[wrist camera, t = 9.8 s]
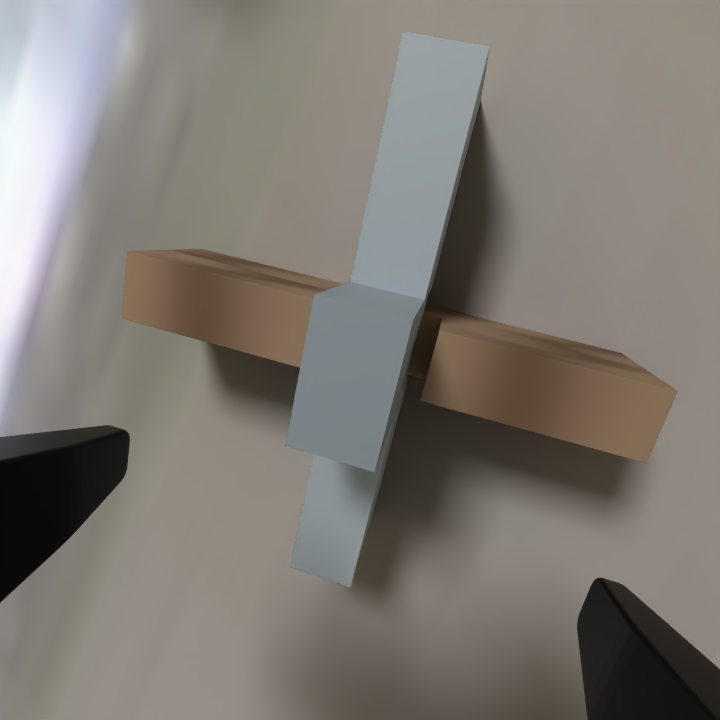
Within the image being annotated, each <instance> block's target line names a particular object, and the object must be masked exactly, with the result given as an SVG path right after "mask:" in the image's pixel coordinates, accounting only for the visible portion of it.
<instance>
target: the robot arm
mask: <svg viewBox="0 0 720 720" xmlns="http://www.w3.org/2000/svg"><path fill="white" fill-rule="evenodd" d="M129 444H130V436H129V433H128V432H127V431H126V430H123V429H120V428H117V427H114V426H109V425H105V426H96V427H87V428H78V429H69V430H60V431H51V432H42V433H33V434H24V435H15V436H6V437H0V602H1V601H3V600H4V599H5V598H6V597H7V596H8V595H9V594H10V593H11V592H12V591H13V590H14V589H16V588H17V587H18V586H19V585H20V584H21V583H22V582H23V581H24V580H25V579H26V578H27V577H29V576H30V575H31V574H32V573H33V572H34V571H35V570H36V569H37V568H38V567H39V566H40V565H42V564H43V563H44V562H45V561H46V560H47V559H48V558H49V557H50V556H51V555H52V554H54V553H55V552H56V551H57V550H58V549H59V548H60V547H61V546H62V545H63V544H64V543H65V542H66V541H67V540H68V539H69V538H70V537H71V536H72V535H73V534H74V533H75V532H76V531H77V530H78V529H79V527H80V526H81V525H82V524H83V523H84V522H85V521H86V520H87V519H88V517H89V516H90V515H91V514H92V513H93V512H94V511H95V510H96V509H97V507H98V506H99V505H100V504H101V503H102V502H103V501H104V500H105V499H106V497H107V496H108V495H109V494H110V493H111V492H112V491H113V490H114V489H115V487H116V486H117V485H118V484H119V483H120V482H121V481H122V479H123V478H124V476H125V474H126V470H127V464H128V454H129ZM577 631H578V640H579V649H580V658H581V667H582V675H583V684H584V693H585V702H586V710H587V717H588V720H720V669H719V668H718V667H717V666H716V665H714V664H713V663H712V662H711V661H710V660H709V659H708V658H706V657H705V656H704V655H703V654H702V653H701V652H700V651H698V650H697V649H696V648H695V647H694V646H693V645H692V644H690V643H689V642H688V641H687V640H686V639H685V638H684V637H682V636H681V635H680V634H679V633H678V632H677V631H676V630H674V629H673V628H672V627H671V626H670V625H669V624H668V623H666V622H665V621H664V620H663V619H662V618H661V617H660V616H658V615H657V614H656V613H655V612H654V611H653V610H652V609H650V608H649V607H648V606H647V605H646V604H645V603H644V602H642V601H641V600H640V599H639V598H638V597H637V596H636V595H634V594H633V593H632V592H631V591H630V590H629V589H628V588H626V587H625V586H624V585H622V584H620V583H617V582H614V581H611V580H608V579H604V578H597V579H595V580H594V582H593V583H592V585H591V587H590V590H589V592H588V594H587V597H586V599H585V602H584V604H583V606H582V609H581V611H580V614H579V617H578V622H577Z"/></svg>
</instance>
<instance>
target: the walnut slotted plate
mask: <svg viewBox="0 0 720 720" xmlns="http://www.w3.org/2000/svg"><path fill="white" fill-rule="evenodd" d="M340 285H342V284H340V283H336V282H332V281H328V280H324V279H320V278H316V277H312V276H308V275H304V274H300V273H296V272H292V271H288V270H284V269H280V268H276V267H272V266H267V265H263V264H259V263H255V262H251V261H247V260H243V259H239V258H235V257H231V256H227V255H223V254H219V253H215V252H211V251H207V250H203V249H188V250H146V251H127V258H126V270H125V282H124V295H123V307H122V319H125V320H129V321H132V322H136V323H140V324H143V325H147V326H151V327H154V328H158V329H161V330H165V331H169V332H172V333H176V334H180V335H183V336H187V337H191V338H194V339H198V340H201V341H205V342H209V343H212V344H216V345H220V346H223V347H227V348H230V349H234V350H238V351H241V352H245V353H249V354H252V355H256V356H259V357H263V358H267V359H270V360H274V361H278V362H281V363H285V364H289V365H292V366H296V367H299V368H300V366H301V361H302V356H303V350H304V345H305V340H306V335H307V330H308V324H309V319H310V314H311V309H312V304H313V298H314V295H315V294H318V293H320V292H323V291H326V290H329V289H331V288H334V287H337V286H340ZM408 375H409V376H413V377H417V378H420V379H424V380H425V383H424V387H423V392H422V396H421V400H420V401H423V402H426V403H430V404H434V405H437V406H441V407H445V408H448V409H452V410H455V411H459V412H463V413H466V414H470V415H474V416H477V417H481V418H484V419H488V420H492V421H495V422H499V423H503V424H506V425H510V426H514V427H517V428H521V429H524V430H528V431H532V432H535V433H539V434H543V435H546V436H550V437H553V438H557V439H561V440H564V441H568V442H572V443H575V444H579V445H582V446H586V447H590V448H593V449H597V450H601V451H604V452H608V453H612V454H615V455H619V456H622V457H626V458H630V459H633V460H637V461H641V462H644V463H647V461H648V459H649V456H650V454H651V452H652V449H653V447H654V445H655V442H656V440H657V438H658V435H659V433H660V431H661V429H662V426H663V424H664V422H665V419H666V417H667V415H668V412H669V410H670V408H671V405H672V403H673V401H674V398H675V396H676V394H677V390H676V389H674V388H673V387H671V386H670V385H668V384H667V383H665V382H664V381H662V380H661V379H659V378H658V377H656V376H655V375H653V374H652V373H650V372H649V371H647V370H646V369H644V368H643V367H641V366H640V365H638V364H637V363H635V362H634V361H632V360H631V359H629V358H628V357H626V356H625V355H623V354H622V353H618V352H614V351H610V350H606V349H602V348H598V347H594V346H590V345H586V344H582V343H578V342H574V341H570V340H566V339H562V338H558V337H554V336H550V335H546V334H542V333H538V332H534V331H530V330H526V329H522V328H517V327H513V326H509V325H505V324H501V323H497V322H493V321H489V320H485V319H481V318H477V317H473V316H469V315H465V314H461V313H457V312H453V311H449V310H445V309H441V308H437V307H433V306H429V305H426V306H425V309H424V313H423V317H422V321H421V325H420V329H419V333H418V336H417V340H416V344H415V348H414V352H413V356H412V360H411V363H410V367H409V371H408Z"/></svg>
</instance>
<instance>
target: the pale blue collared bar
mask: <svg viewBox="0 0 720 720" xmlns="http://www.w3.org/2000/svg"><path fill="white" fill-rule="evenodd" d="M489 48H490V46H484V45H478V44H472V43H467V42H461V41H455V40H449V39H443V38H437V37H431V36H426V35H420V34H414V33H408V32H403V35H402V40H401V44H400V49H399V54H398V59H397V63H396V68H395V73H394V77H393V82H392V87H391V92H390V96H389V101H388V106H387V111H386V115H385V120H384V125H383V130H382V134H381V139H380V144H379V148H378V153H377V158H376V163H375V167H374V172H373V177H372V182H371V186H370V191H369V196H368V200H367V205H366V210H365V215H364V219H363V224H362V229H361V234H360V238H359V243H358V248H357V252H356V257H355V262H354V267H353V271H352V276H351V281H350V282H348V283H345V284H342V285H340V286H337V287H334V288H331V289H329V290H326V291H323V292H320V293H318V294H315V295H314V298H313V304H312V309H311V314H310V319H309V324H308V330H307V335H306V340H305V345H304V350H303V356H302V361H301V366H300V371H299V376H298V382H297V387H296V392H295V397H294V403H293V408H292V413H291V418H290V423H289V429H288V434H287V439H286V444H285V446H288V447H291V448H295V449H298V450H301V451H305V452H308V453H311V454H314V456H313V460H312V465H311V470H310V475H309V479H308V484H307V489H306V494H305V498H304V503H303V508H302V512H301V517H300V522H299V527H298V531H297V536H296V541H295V546H294V550H293V555H292V560H291V564H290V567H291V568H294V569H297V570H300V571H303V572H306V573H309V574H312V575H315V576H318V577H321V578H324V579H327V580H330V581H333V582H336V583H339V584H342V585H345V586H348V587H351V584H352V581H353V578H354V574H355V571H356V568H357V565H358V561H359V558H360V555H361V552H362V548H363V545H364V542H365V539H366V535H367V532H368V529H369V526H370V523H371V519H372V516H373V512H374V509H375V505H376V501H377V497H378V493H379V489H380V486H381V482H382V478H383V474H384V470H385V466H386V462H387V459H388V455H389V451H390V447H391V443H392V439H393V436H394V432H395V428H396V424H397V420H398V416H399V412H400V409H401V405H402V401H403V397H404V393H405V389H406V386H407V382H408V378H409V375H408V371H409V367H410V363H411V360H412V356H413V352H414V348H415V344H416V340H417V336H418V333H419V329H420V325H421V321H422V317H423V313H424V309H425V306H426V302H427V298H428V294H429V293H430V291H431V289H432V286H433V282H434V278H435V274H436V270H437V266H438V263H439V259H440V255H441V251H442V247H443V243H444V239H445V236H446V232H447V228H448V224H449V220H450V216H451V213H452V209H453V205H454V201H455V197H456V193H457V189H458V186H459V182H460V178H461V174H462V170H463V166H464V163H465V159H466V155H467V151H468V147H469V143H470V139H471V136H472V132H473V128H474V124H475V120H476V116H477V113H478V109H479V105H480V101H481V96H482V90H483V84H484V78H485V72H486V66H487V60H488V54H489Z"/></svg>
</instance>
